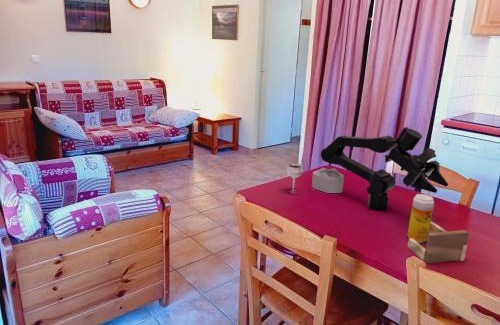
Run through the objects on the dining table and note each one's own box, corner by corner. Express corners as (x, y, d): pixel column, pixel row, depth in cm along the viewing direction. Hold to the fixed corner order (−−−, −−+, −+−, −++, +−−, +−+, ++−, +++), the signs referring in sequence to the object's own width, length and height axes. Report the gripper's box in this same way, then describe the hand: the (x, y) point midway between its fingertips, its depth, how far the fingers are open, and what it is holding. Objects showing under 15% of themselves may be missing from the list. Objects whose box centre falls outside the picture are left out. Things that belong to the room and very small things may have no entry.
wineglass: (282, 190, 165) (283, 164, 161) (295, 188, 168) (297, 162, 164) (290, 196, 159) (292, 168, 156) (304, 194, 162) (306, 167, 158)
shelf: (391, 233, 130) (395, 209, 127) (424, 230, 132) (428, 207, 130) (427, 264, 112) (432, 236, 109) (464, 260, 115) (470, 233, 112)
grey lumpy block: (321, 182, 176) (323, 164, 173) (347, 190, 168) (349, 171, 165) (308, 188, 168) (310, 169, 166) (335, 196, 160) (337, 177, 158)
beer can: (418, 245, 123) (425, 202, 118) (403, 237, 128) (409, 195, 123) (431, 241, 125) (439, 199, 121) (415, 233, 130) (422, 192, 126)
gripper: (405, 146, 128) (445, 176, 120) (429, 138, 140) (467, 165, 132) (388, 171, 134) (425, 201, 126) (412, 162, 146) (447, 188, 138)
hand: (442, 188), depth 131 cm, fingers open, 9 cm apart
